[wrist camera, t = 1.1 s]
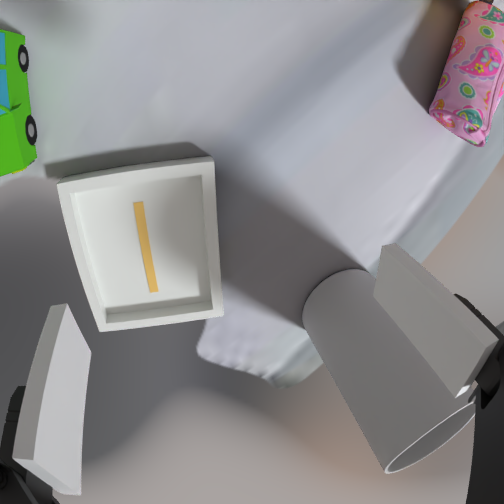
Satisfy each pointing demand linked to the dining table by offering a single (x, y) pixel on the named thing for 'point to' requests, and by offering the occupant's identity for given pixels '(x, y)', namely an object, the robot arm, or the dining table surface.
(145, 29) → the dining table surface
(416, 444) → the cylinder vase
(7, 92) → the toy car
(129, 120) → the dining table surface
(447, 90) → the pencil case
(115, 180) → the tray
